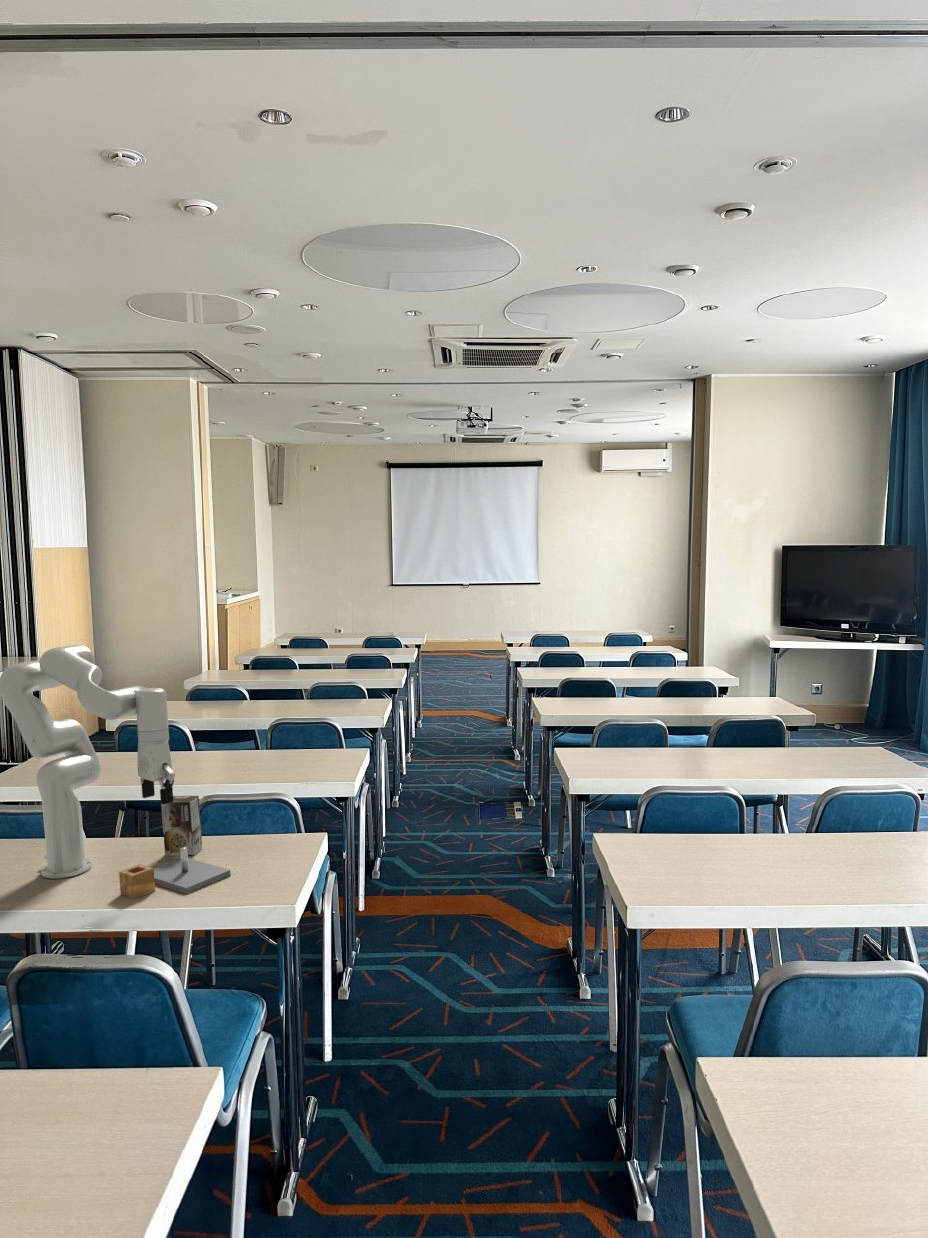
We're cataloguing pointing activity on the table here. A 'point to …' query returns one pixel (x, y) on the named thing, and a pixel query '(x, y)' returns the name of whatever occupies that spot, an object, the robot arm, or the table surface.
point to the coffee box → (182, 825)
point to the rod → (184, 859)
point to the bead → (137, 881)
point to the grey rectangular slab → (188, 875)
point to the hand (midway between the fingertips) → (157, 800)
